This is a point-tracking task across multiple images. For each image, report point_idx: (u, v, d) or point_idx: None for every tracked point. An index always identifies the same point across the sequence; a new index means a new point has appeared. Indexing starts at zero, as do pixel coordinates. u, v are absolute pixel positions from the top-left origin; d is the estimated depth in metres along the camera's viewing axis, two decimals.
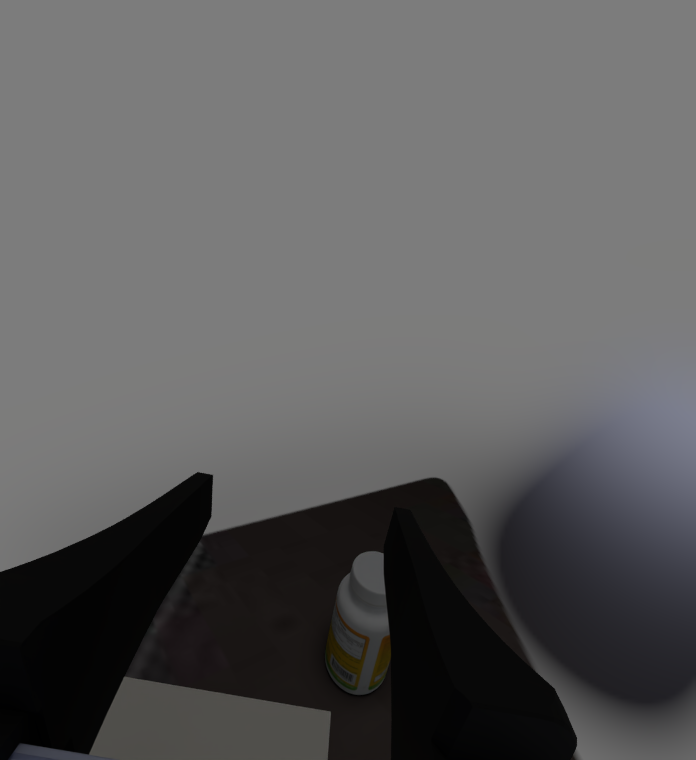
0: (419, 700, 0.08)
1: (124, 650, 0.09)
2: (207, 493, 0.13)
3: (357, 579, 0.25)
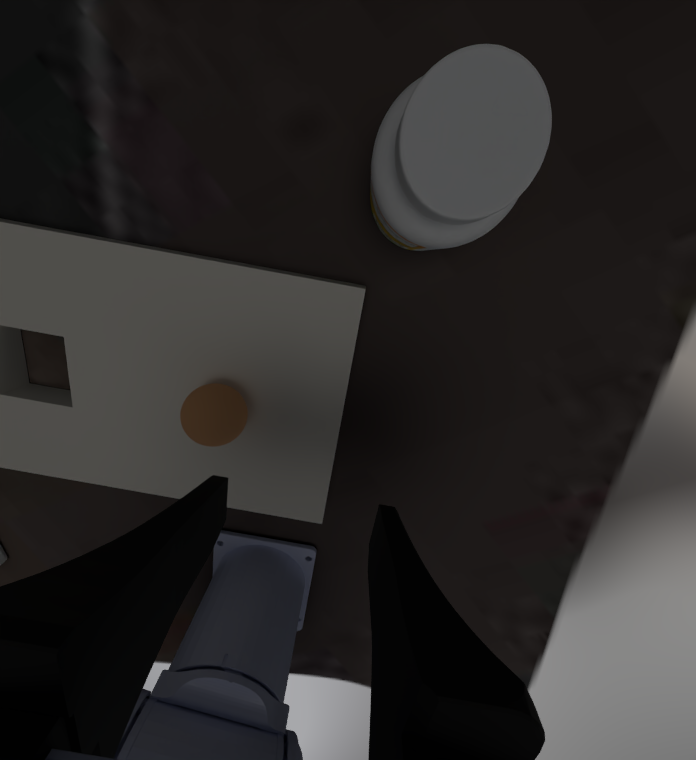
0: (393, 695, 0.08)
1: (146, 654, 0.09)
2: (223, 496, 0.13)
3: (404, 174, 0.09)
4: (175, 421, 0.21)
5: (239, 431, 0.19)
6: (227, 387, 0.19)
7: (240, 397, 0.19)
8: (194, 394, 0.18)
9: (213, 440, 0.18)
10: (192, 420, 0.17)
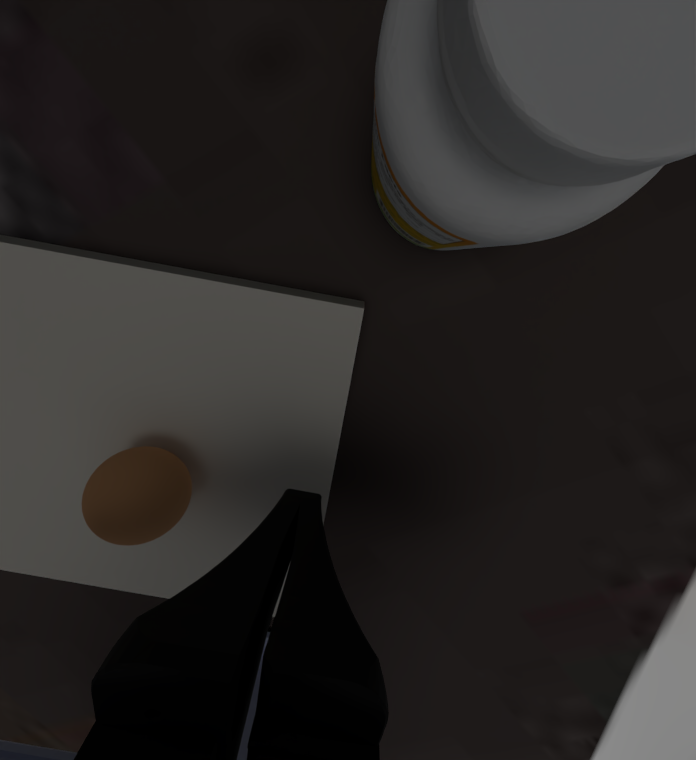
0: None
1: (255, 672, 0.09)
2: None
3: (479, 21, 0.03)
4: None
5: (175, 520, 0.12)
6: (157, 454, 0.12)
7: (178, 468, 0.13)
8: (102, 470, 0.12)
9: (130, 541, 0.12)
10: (94, 513, 0.11)
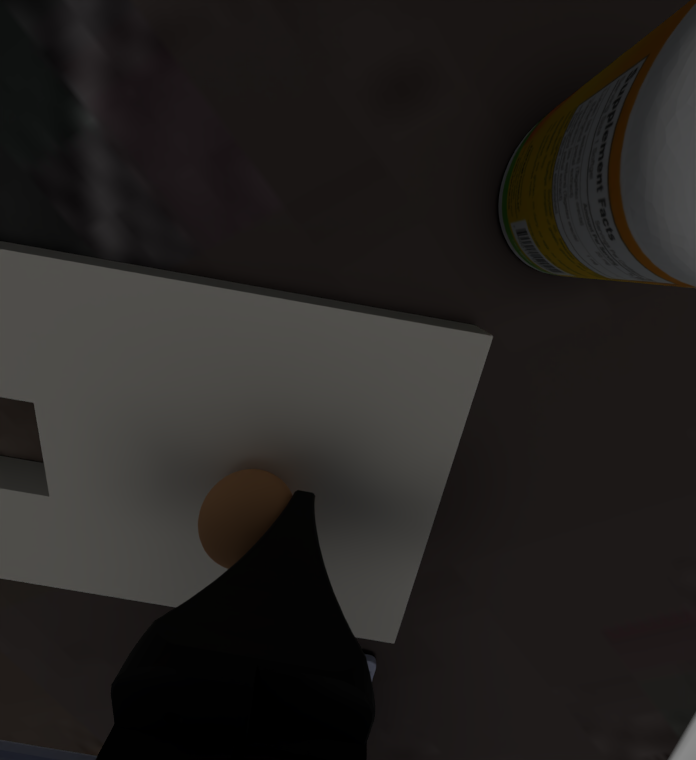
0: None
1: None
2: None
3: None
4: (196, 516, 0.15)
5: None
6: (269, 479, 0.12)
7: (286, 496, 0.12)
8: (220, 489, 0.12)
9: None
10: (210, 533, 0.11)
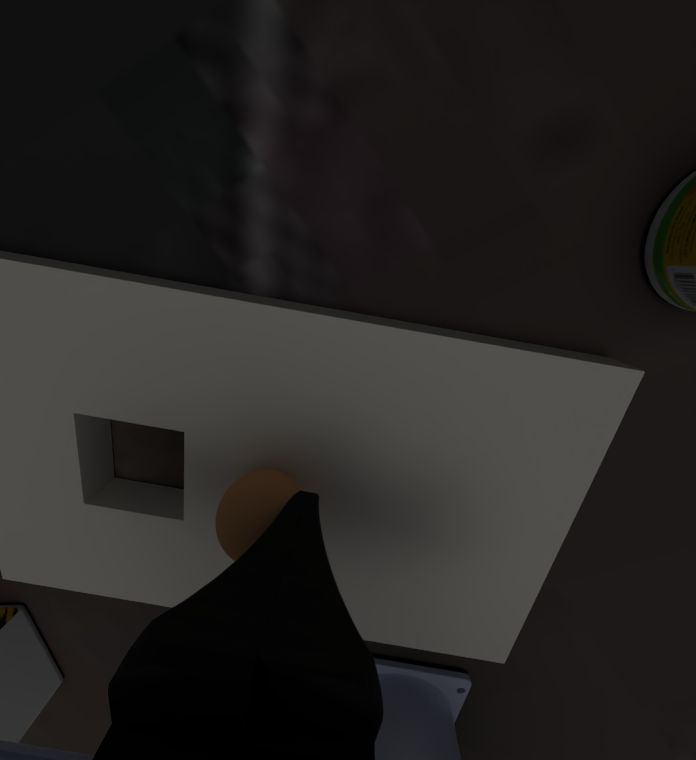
0: None
1: None
2: None
3: None
4: (326, 539, 0.15)
5: None
6: (250, 487, 0.12)
7: (231, 489, 0.12)
8: (295, 486, 0.13)
9: None
10: None
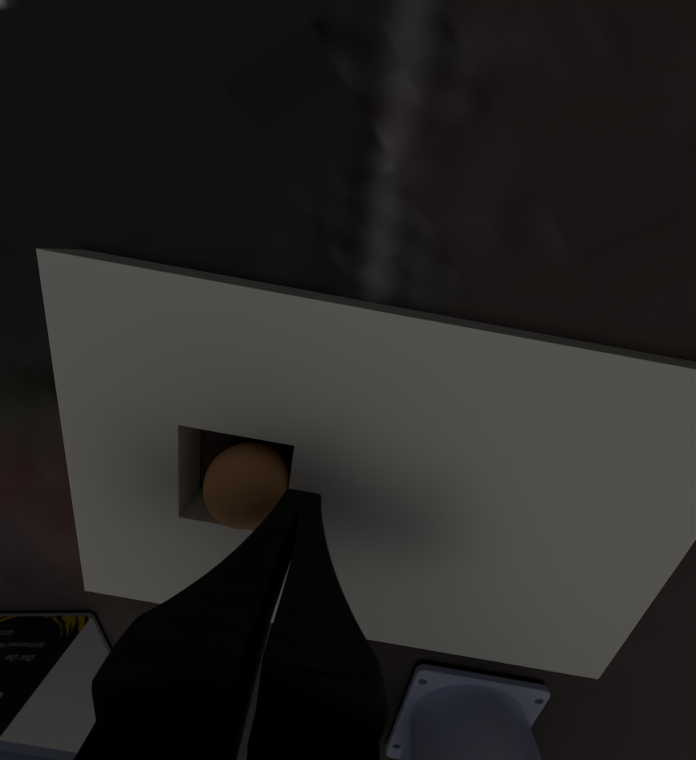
0: None
1: (255, 672, 0.09)
2: None
3: None
4: (430, 555, 0.15)
5: None
6: (268, 449, 0.14)
7: (283, 464, 0.14)
8: (225, 455, 0.14)
9: (240, 522, 0.13)
10: (218, 491, 0.13)
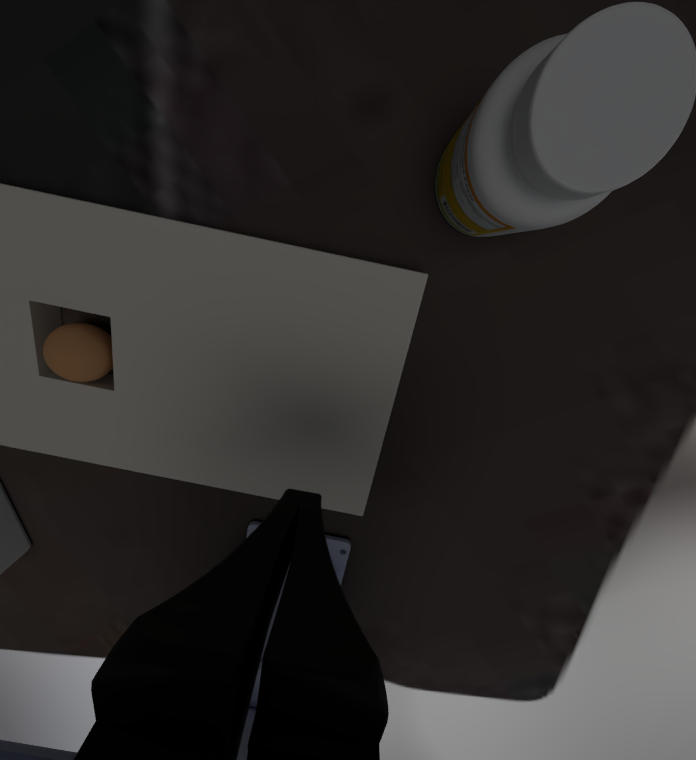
0: None
1: (255, 672, 0.09)
2: None
3: (533, 141, 0.09)
4: (220, 408, 0.21)
5: (93, 370, 0.19)
6: (94, 328, 0.20)
7: (103, 339, 0.20)
8: (59, 327, 0.19)
9: (61, 370, 0.19)
10: (45, 347, 0.19)
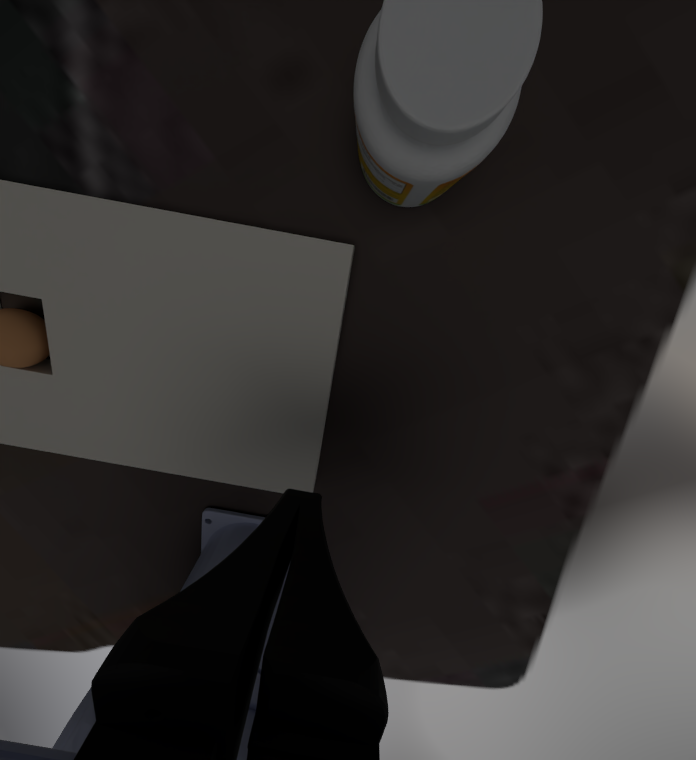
0: None
1: (255, 672, 0.09)
2: None
3: (384, 77, 0.09)
4: (159, 389, 0.21)
5: (21, 356, 0.19)
6: (23, 313, 0.20)
7: (32, 325, 0.20)
8: None
9: None
10: None
